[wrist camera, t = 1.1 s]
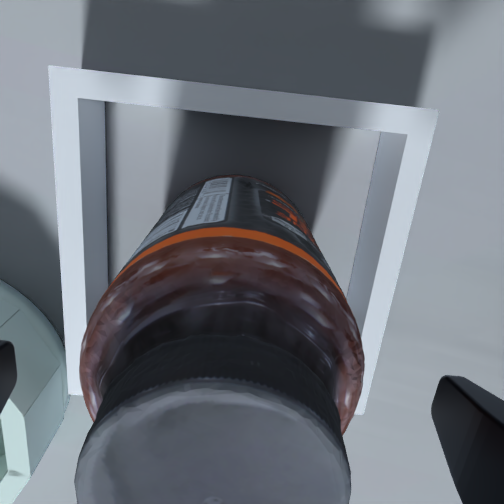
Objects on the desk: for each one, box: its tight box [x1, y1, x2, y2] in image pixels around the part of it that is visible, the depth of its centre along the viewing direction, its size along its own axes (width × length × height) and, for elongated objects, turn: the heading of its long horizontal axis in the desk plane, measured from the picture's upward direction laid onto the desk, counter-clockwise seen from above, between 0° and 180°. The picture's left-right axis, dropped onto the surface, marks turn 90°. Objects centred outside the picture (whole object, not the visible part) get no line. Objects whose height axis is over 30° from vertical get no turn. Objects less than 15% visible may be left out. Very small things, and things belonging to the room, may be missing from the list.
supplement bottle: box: [74, 175, 365, 504], centre depth 11 cm, size 6×6×11 cm
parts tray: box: [48, 65, 440, 415], centre depth 15 cm, size 12×12×2 cm
